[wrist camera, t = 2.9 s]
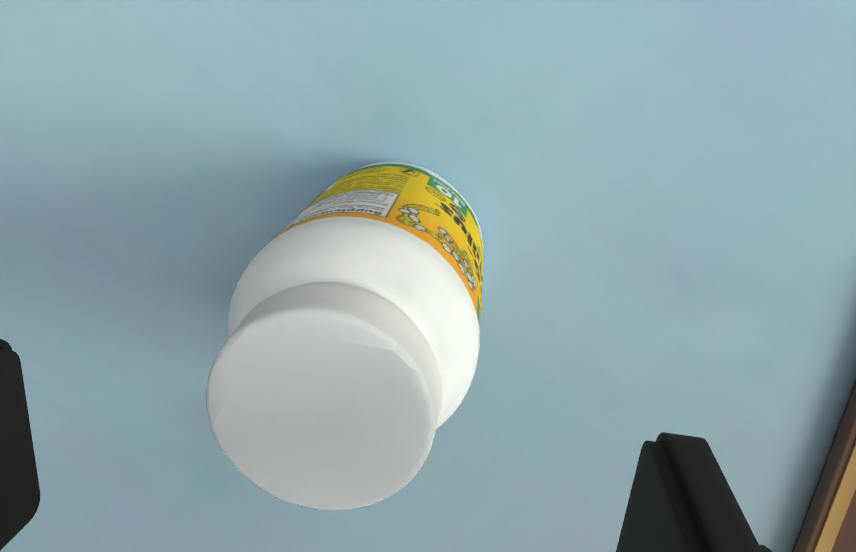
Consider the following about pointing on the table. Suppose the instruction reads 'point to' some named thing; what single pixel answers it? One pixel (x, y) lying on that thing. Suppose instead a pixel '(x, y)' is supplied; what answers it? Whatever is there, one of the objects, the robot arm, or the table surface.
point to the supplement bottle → (351, 340)
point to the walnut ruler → (835, 495)
